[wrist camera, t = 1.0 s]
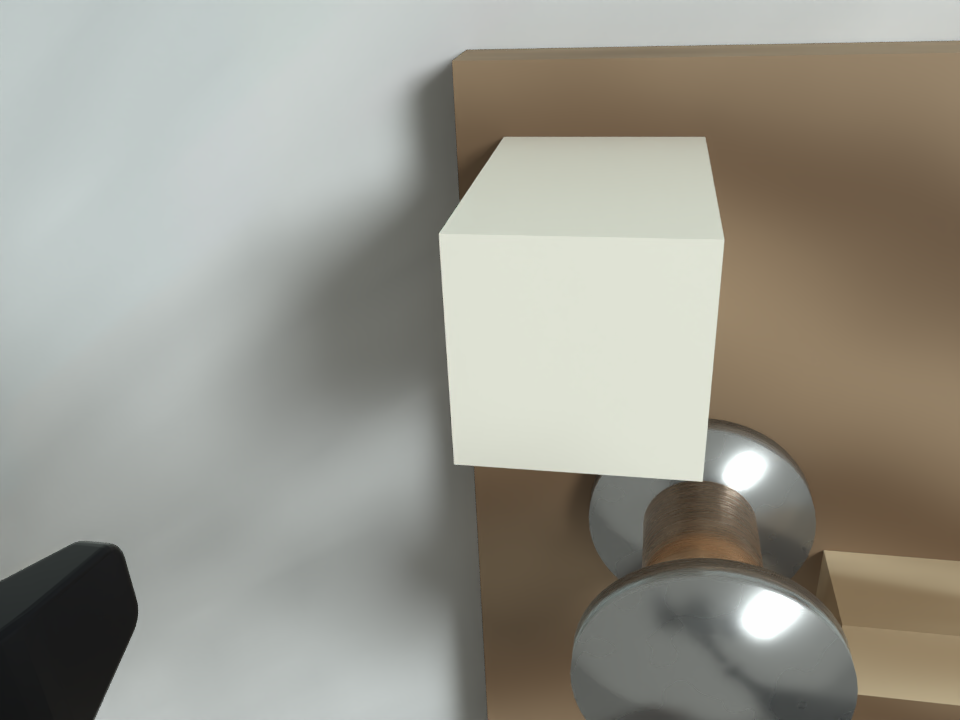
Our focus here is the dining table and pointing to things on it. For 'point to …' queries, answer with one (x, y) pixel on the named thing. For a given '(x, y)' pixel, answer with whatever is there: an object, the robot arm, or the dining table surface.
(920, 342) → the board
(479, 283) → the white block
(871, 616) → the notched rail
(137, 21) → the dining table surface
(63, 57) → the dining table surface
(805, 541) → the bobbin
